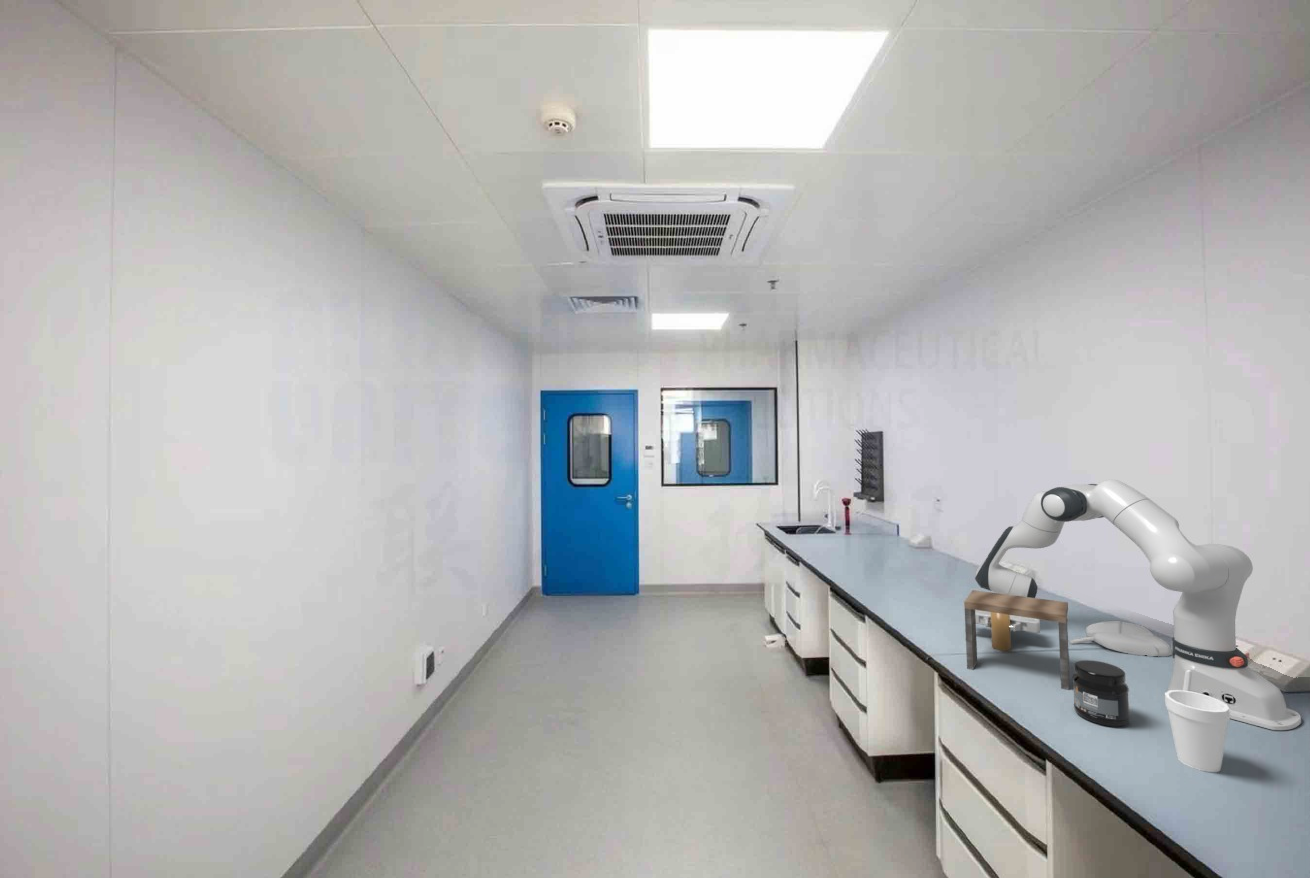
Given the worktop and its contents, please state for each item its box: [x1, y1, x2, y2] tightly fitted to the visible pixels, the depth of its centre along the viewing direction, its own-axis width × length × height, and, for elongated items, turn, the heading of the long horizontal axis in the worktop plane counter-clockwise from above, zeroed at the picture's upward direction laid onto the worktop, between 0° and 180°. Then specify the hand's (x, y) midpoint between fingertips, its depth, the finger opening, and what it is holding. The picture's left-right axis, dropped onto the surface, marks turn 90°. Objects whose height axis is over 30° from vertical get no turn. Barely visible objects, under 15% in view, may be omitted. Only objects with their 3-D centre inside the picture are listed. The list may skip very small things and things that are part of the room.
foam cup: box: [1164, 690, 1231, 773], centre depth 111 cm, size 10×9×13 cm
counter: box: [963, 589, 1071, 691], centre depth 157 cm, size 24×14×20 cm, turn 50°
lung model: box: [1068, 620, 1173, 657], centre depth 172 cm, size 7×17×25 cm
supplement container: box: [1072, 659, 1131, 727], centre depth 130 cm, size 10×10×12 cm
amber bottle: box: [990, 612, 1012, 652], centre depth 173 cm, size 5×5×14 cm
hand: (1000, 627), depth 173 cm, fingers closed on amber bottle, 5 cm apart
